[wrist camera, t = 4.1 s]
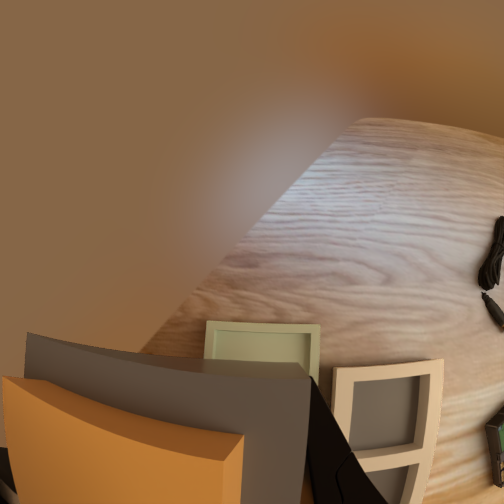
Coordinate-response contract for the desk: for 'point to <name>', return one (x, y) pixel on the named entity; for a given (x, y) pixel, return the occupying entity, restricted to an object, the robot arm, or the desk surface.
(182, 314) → the desk surface
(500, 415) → the disk drive
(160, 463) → the plug
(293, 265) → the desk surface
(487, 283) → the computer mouse
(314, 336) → the tray
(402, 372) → the two compartment organizer
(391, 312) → the desk surface
